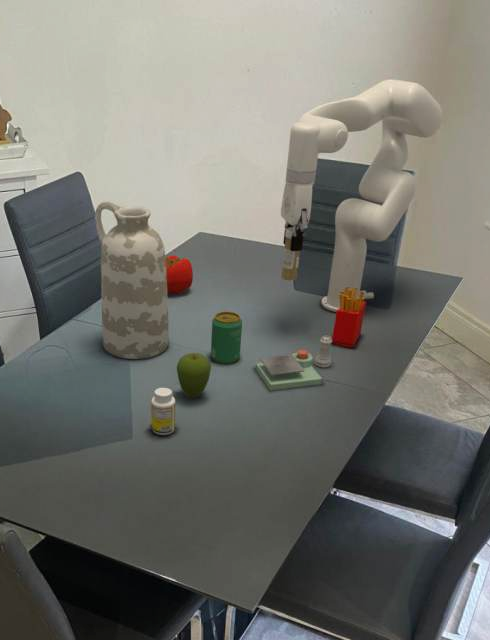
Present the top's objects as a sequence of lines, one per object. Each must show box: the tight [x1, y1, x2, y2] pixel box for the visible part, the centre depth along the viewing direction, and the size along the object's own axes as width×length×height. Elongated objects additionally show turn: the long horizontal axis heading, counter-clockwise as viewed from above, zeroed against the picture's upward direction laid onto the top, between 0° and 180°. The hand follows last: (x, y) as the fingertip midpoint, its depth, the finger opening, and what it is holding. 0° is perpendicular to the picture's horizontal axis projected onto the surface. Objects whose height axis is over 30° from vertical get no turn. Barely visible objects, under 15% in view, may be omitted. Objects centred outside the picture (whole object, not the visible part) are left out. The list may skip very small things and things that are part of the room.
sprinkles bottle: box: [280, 227, 301, 281], centre depth 203 cm, size 5×5×13 cm
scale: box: [254, 351, 323, 391], centre depth 194 cm, size 15×12×4 cm
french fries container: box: [331, 286, 367, 348], centre depth 208 cm, size 7×9×14 cm
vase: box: [94, 201, 170, 360], centre depth 198 cm, size 20×19×38 cm
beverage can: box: [210, 311, 243, 365], centre depth 200 cm, size 8×8×12 cm
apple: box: [176, 352, 212, 399], centre depth 184 cm, size 9×8×12 cm
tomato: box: [165, 254, 194, 295], centre depth 238 cm, size 14×13×10 cm
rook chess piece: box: [314, 334, 332, 369], centre depth 198 cm, size 4×4×8 cm
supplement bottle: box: [150, 387, 176, 436], centre depth 171 cm, size 6×6×10 cm
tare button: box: [297, 349, 309, 360], centre depth 196 cm, size 3×3×2 cm
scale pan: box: [259, 354, 305, 375], centre depth 192 cm, size 9×9×1 cm
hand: (292, 246), depth 202 cm, fingers closed on sprinkles bottle, 4 cm apart
